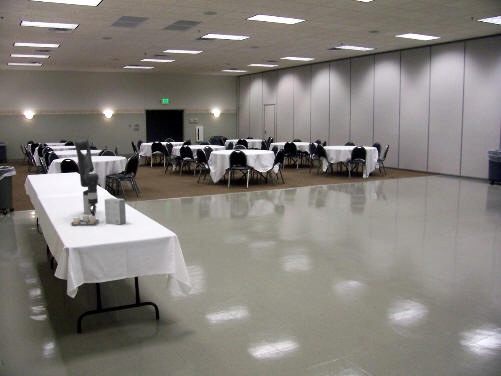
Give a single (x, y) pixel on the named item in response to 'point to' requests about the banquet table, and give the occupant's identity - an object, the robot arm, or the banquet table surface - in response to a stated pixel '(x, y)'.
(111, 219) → the hard drive box
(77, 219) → the tab
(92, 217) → the tab
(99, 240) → the banquet table surface
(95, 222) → the switch bank
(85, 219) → the tab
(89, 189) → the robot arm
